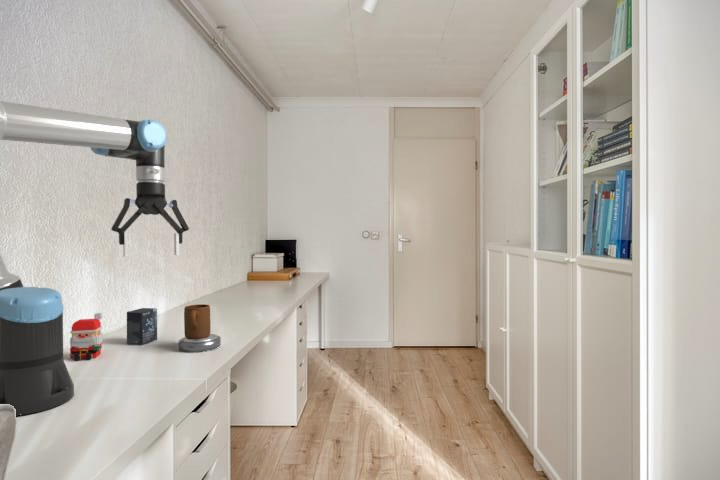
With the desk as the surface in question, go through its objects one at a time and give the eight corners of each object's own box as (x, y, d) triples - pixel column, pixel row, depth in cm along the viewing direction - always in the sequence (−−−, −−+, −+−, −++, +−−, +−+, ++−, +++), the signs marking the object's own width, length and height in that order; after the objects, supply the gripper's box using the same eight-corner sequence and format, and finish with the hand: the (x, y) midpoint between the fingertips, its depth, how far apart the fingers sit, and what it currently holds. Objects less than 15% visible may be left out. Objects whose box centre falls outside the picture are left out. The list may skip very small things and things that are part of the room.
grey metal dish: (184, 354, 127) (184, 344, 127) (174, 346, 136) (174, 336, 136) (225, 348, 134) (225, 338, 133) (213, 340, 143) (213, 331, 143)
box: (142, 345, 139) (141, 312, 138) (126, 344, 140) (125, 311, 140) (158, 339, 146) (157, 307, 146) (143, 339, 147) (142, 307, 147)
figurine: (65, 362, 121) (64, 318, 121) (74, 355, 128) (74, 314, 128) (99, 359, 123) (98, 316, 123) (107, 353, 130) (106, 312, 130)
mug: (206, 341, 129) (205, 309, 129) (179, 343, 128) (178, 311, 128) (212, 333, 141) (211, 303, 141) (187, 334, 139) (186, 304, 139)
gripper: (102, 178, 118) (103, 257, 118) (198, 183, 132) (199, 254, 132) (99, 181, 124) (101, 256, 124) (191, 186, 138) (193, 253, 138)
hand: (152, 255), depth 128 cm, fingers open, 13 cm apart
